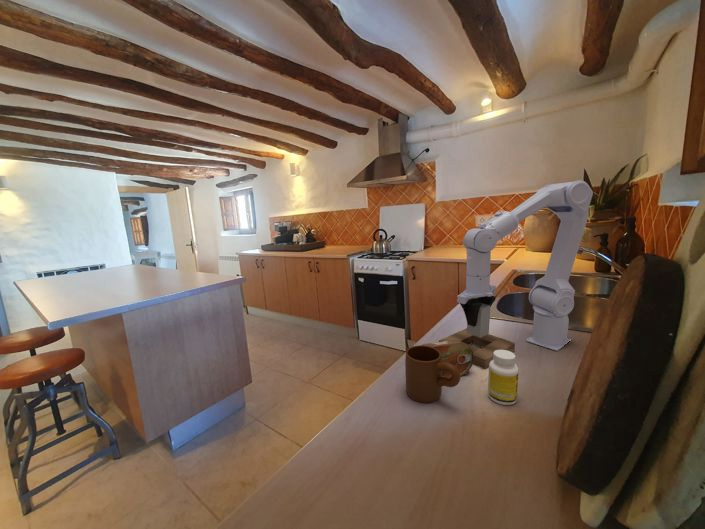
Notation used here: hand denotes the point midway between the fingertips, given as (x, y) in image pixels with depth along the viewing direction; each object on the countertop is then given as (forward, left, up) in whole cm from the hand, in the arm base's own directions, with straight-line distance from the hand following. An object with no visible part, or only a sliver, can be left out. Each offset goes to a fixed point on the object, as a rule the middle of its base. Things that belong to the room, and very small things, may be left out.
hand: (476, 323), depth 79 cm
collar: (0, 0, -8) cm, 8 cm away
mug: (+25, +6, -8) cm, 27 cm away
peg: (0, 0, -3) cm, 3 cm away
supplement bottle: (+14, +15, -8) cm, 22 cm away
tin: (+17, +2, -8) cm, 19 cm away
